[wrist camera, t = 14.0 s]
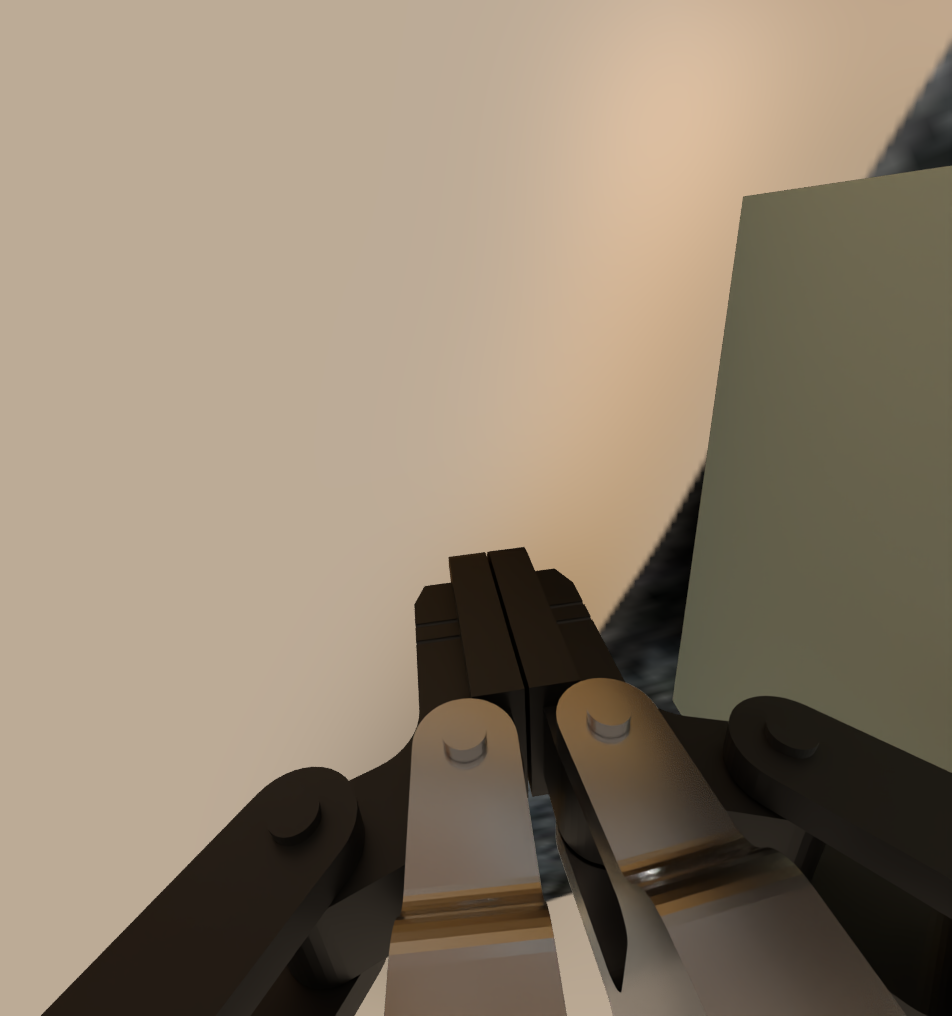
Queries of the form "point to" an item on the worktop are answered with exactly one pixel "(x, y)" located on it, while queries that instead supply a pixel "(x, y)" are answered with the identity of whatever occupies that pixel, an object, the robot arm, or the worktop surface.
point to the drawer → (832, 466)
